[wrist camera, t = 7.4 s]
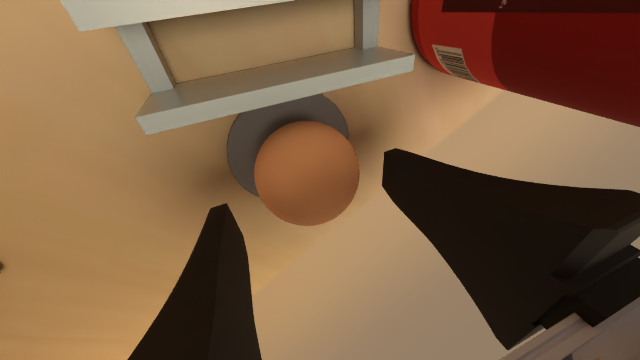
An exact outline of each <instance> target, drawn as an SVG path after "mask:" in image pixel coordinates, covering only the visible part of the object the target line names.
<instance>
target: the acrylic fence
mask: <svg viewBox="0 0 640 360" xmlns="http://www.w3.org/2000/svg"><path fill="white" fill-rule="evenodd" d="M60 1H61V3H62V4H63V6H64V8H65V9H66V11H67V12H68V14H69V15H70V17H71V19H72V20H73V22H74V23H75V25H76V26H77V28H78V30H79V31H87V30H94V29H100V28H107V27H114V26H115V28H116V29H117V31H118V33H119V35H120V37H121V39H122V40H123V42H124V44H125V46H126V48H127V49H128V51H129V53H130V55H131V57H132V58H133V60H134V62H135V64H136V66H137V67H138V69H139V71H140V73H141V75H142V76H143V78H144V80H145V82H146V84H147V86H148V87H149V89H150V91H151V93H152V94H151V95H150V97H149V98H148V99H147V101H146V102H145V104H144V105H143V107H142V108H141V109H140V111H139V112H138V114H137V115H136V116H135V119H136V120H137V122H138V123H139V125H140V127H141V128H142V130H143V131H144V133H145V134H146V135H150V134H154V133H159V132H163V131H167V130H171V129H175V128H179V127H183V126H188V125H192V124H196V123H200V122H204V121H208V120H212V119H216V118H221V117H225V116H229V115H233V114H237V113H241V112H245V111H250V110H254V109H258V108H262V107H266V106H270V105H274V104H279V103H283V102H287V101H291V100H295V99H299V98H303V97H308V96H312V95H316V94H320V93H324V92H328V91H332V90H336V89H341V88H345V87H349V86H353V85H357V84H361V83H365V82H370V81H374V80H378V79H382V78H386V77H390V76H394V75H399V74H403V73H407V72H411V71H413V68H414V60H415V54H410V53H405V52H401V51H396V50H391V49H387V48H382V47H378V27H379V0H354V18H355V48H351V49H346V50H341V51H336V52H331V53H326V54H321V55H316V56H311V57H306V58H301V59H296V60H291V61H287V62H282V63H277V64H272V65H267V66H262V67H257V68H252V69H247V70H242V71H237V72H232V73H227V74H223V75H218V76H213V77H208V78H203V79H198V80H193V81H188V82H183V83H178V84H176V83H175V81H174V79H173V77H172V74H171V72H170V70H169V68H168V66H167V64H166V62H165V60H164V58H163V56H162V54H161V51H160V49H159V47H158V45H157V43H156V41H155V39H154V37H153V35H152V33H151V30H150V28H149V26H148V24H147V22H149V21H156V20H162V19H169V18H176V17H183V16H190V15H197V14H204V13H211V12H217V11H224V10H231V9H238V8H245V7H252V6H259V5H266V4H272V3H279V2H286V1H293V0H60Z"/></svg>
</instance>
